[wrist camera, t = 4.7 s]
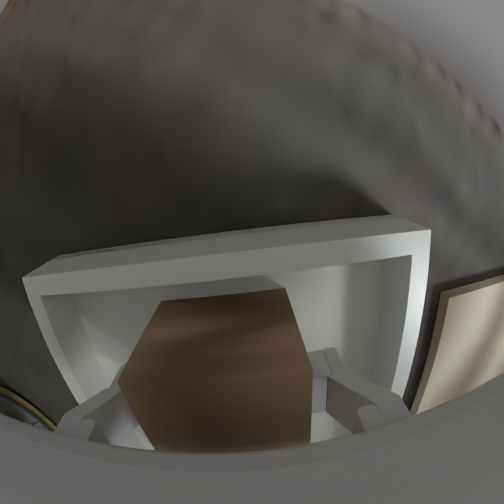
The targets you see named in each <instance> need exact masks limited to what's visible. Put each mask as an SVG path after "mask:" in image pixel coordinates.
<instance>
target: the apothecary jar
mask: <svg viewBox="0 0 504 504" xmlns="http://www.w3.org/2000/svg"><path fill="white" fill-rule="evenodd" d="M0 413H2V414H4V415H6V416H9V417H11V418H14V419H17V420H19V421H22V422H25V423H28V424H31V425H34V426H37V427H40V428H43V429H46V430H50V431H53V432H54V431H55V429H56V427H57V426H56V425H55V424H54V423H53V422H52V421H50V420H49V419H48V418H47V417H46V416H45V415H44V414H43V413H42V412H40V411H39V410H38V409H37V408H35V407H34V406H33V405H32V404H30V403H29V402H27V401H26V400H25V399H23V398H22V397H20V396H19V395H17V394H16V393H14V392H12V391H10V390H8V389H6V388H3V387H0Z"/></svg>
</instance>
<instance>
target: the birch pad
mask: <svg viewBox="0 0 504 504" xmlns="http://www.w3.org/2000/svg"><path fill="white" fill-rule="evenodd" d="M502 372H504V274H503V275H499V276H496V277H493V278H490V279H486V280H483V281H479V282H476V283H472V284H469V285H465V286H462V287H458V288H454V289H450V290H446V291H442V292H441V293H440V300H439V305H438V311H437V316H436V321H435V326H434V331H433V335H432V340H431V344H430V348H429V352H428V356H427V360H426V363H425V367H424V370H423V374H422V377H421V380H420V384H419V387H418V390H417V393H416V396H415V399H414V402H413V404H412V407H411V410H410V413H411V415H412V416H413V415H416V414H418V413H421V412H424V411H426V410H429V409H431V408H433V407H436V406H438V405H440V404H443V403H445V402H447V401H449V400H452V399H454V398H456V397H458V396H460V395H462V394H464V393H466V392H468V391H470V390H472V389H474V388H476V387H478V386H480V385H482V384H483V383H485V382H487V381H489V380H491V379H492V378H494V377H496V376H497V375H499V374H501V373H502Z"/></svg>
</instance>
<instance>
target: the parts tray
mask: <svg viewBox="0 0 504 504" xmlns="http://www.w3.org/2000/svg"><path fill="white" fill-rule="evenodd" d="M430 239H431V229H429V228H426V227H424V226H421V225H418V224H416V223H413V222H411V221H408V220H405V219H403V218H400V217H397V216H394V215H392V214H391V215H379V216H368V217H357V218H347V219H337V220H327V221H317V222H307V223H298V224H288V225H279V226H270V227H262V228H253V229H244V230H236V231H228V232H220V233H212V234H204V235H196V236H188V237H181V238H173V239H166V240H158V241H151V242H144V243H137V244H130V245H123V246H116V247H109V248H103V249H96V250H90V251H83V252H77V253H71V254H64V255H59V256H57V257H55V258H54V259H52V260H50V261H48V262H47V263H45V264H43V265H42V266H40V267H38V268H37V269H35V270H33V271H32V272H30V273H28V274H27V275H25V276H24V277H22V280H23V283H24V287H25V290H26V293H27V296H28V298H29V301H30V304H31V307H32V310H33V312H34V315H35V317H36V320H37V322H38V325H39V327H40V330H41V332H42V334H43V337H44V339H45V341H46V344H47V346H48V348H49V350H50V352H51V354H52V356H53V358H54V360H55V362H56V364H57V366H58V368H59V370H60V372H61V374H62V376H63V378H64V380H65V382H66V383H67V385H68V387H69V389H70V390H71V392H72V394H73V396H74V397H75V399H76V401H77V402H78V404H79V405H80V404H81V403H83V402H84V401H86V400H88V399H89V398H91V397H93V396H94V395H96V394H97V393H99V392H101V391H102V390H104V389H105V388H107V389H109V387H110V385H111V383H112V382H113V380H114V378H115V376H116V374H117V372H118V370H119V369H120V367H121V365H123V364H126V363H127V361H128V359H129V357H130V356H131V354H132V352H133V350H134V348H135V346H136V344H137V343H138V341H139V339H140V337H141V335H142V334H143V332H144V330H145V328H146V326H147V325H148V323H149V321H150V319H151V318H152V316H153V314H154V312H155V311H156V309H157V307H158V305H159V304H160V302H161V301H164V300H176V299H188V298H199V297H209V296H219V295H229V294H238V293H247V292H256V291H265V290H273V289H281V288H286V291H287V294H288V297H289V300H290V303H291V306H292V309H293V312H294V315H295V318H296V321H297V324H298V327H299V330H300V333H301V336H302V339H303V342H304V345H305V348H306V352H311V351H317V350H321V349H325V348H330V347H335V348H336V350H337V352H338V354H339V356H340V358H341V360H342V363H343V365H344V367H345V369H346V371H347V372H353V373H355V374H357V375H359V376H361V377H363V378H365V379H367V380H369V381H371V382H373V383H375V384H377V385H379V386H381V387H383V388H385V389H387V390H389V391H392V392H394V393H396V394H398V395H400V397H401V398H403V395H404V391H405V388H406V384H407V381H408V377H409V374H410V370H411V366H412V362H413V358H414V353H415V349H416V344H417V340H418V335H419V330H420V324H421V319H422V313H423V307H424V300H425V293H426V285H427V277H428V267H429V255H430ZM348 435H352V432H350V431H349V430H348V429H347V428H345V427H344V426H343V425H341V424H340V423H339V422H338V421H336V420H335V419H334V418H333V417H331V416H330V415H329V414H328V413H326V411H323V412H317V413H312V419H311V440H310V443H315V442H320V441H325V440H330V439H334V438H339V437H343V436H348ZM118 446H123V447H130V448H138V449H148V450H155V449H154V448H153V446H152V445H151V443H150V441H149V440H148V438H147V436H146V435H145V433H144V431H143V430H142V428H141V426H140V425H139V426H137V427H136V428H135V429H134V430H133V431H132V432H131V433H130V434H129V435H128V436H127V437H126V438H125V439H124V440H123V441H122V442H121V443H120V444H119V445H118Z"/></svg>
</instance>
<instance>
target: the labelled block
mask: <svg viewBox="0 0 504 504" xmlns="http://www.w3.org/2000/svg"><path fill="white" fill-rule="evenodd" d="M117 383H118V385H119V387H120V389H121V391H122V393H123V395H124V397H125V399H126V401H127V403H128V404H129V406H130V408H131V410H132V412H133V414H134V416H135V417H136V419H137V421H138V423H139V425H140V426H141V428H142V430H143V431H144V433H145V435H146V436H147V438H148V440H149V441H150V443H151V445H152V446H153V448H154V449H155V450H159V451H174V452H238V451H253V450H265V449H274V448H282V447H290V446H297V445H303V444H309V443H310V440H311V419H312V383H313V370H312V367H311V364H310V361H309V358H308V355H307V352H306V348H305V345H304V342H303V339H302V336H301V333H300V330H299V327H298V324H297V321H296V318H295V315H294V312H293V309H292V306H291V303H290V300H289V297H288V294H287V291H286V288H281V289H273V290H265V291H256V292H247V293H238V294H229V295H219V296H209V297H199V298H188V299H176V300H164V301H161V302H160V304H159V305H158V307H157V309H156V311H155V312H154V314H153V316H152V318H151V319H150V321H149V323H148V325H147V326H146V328H145V330H144V332H143V334H142V335H141V337H140V339H139V341H138V343H137V344H136V346H135V348H134V350H133V352H132V354H131V356H130V357H129V359H128V361H127V363H126V365H125V367H124V369H123V371H122V372H121V374H120V376H119V378H118V380H117Z"/></svg>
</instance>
